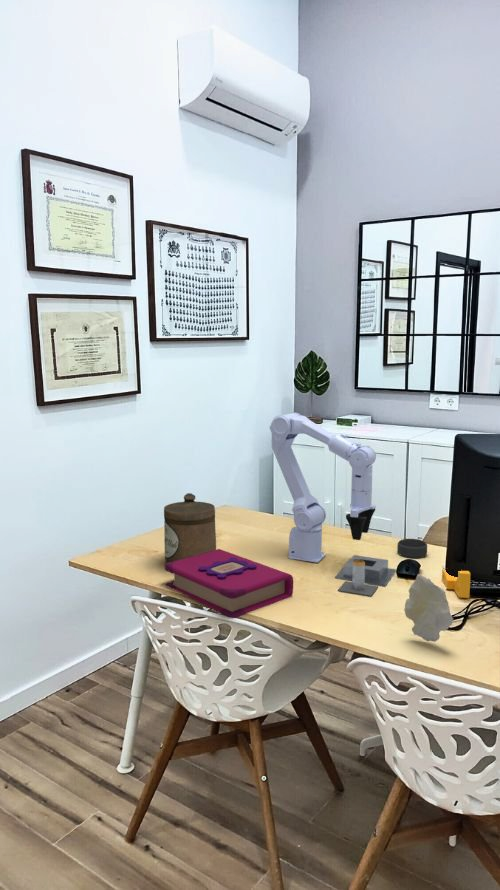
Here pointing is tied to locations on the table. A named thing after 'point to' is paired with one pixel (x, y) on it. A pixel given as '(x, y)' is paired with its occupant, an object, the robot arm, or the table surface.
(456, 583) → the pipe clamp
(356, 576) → the orange and grey block
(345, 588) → the mat
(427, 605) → the stone tool
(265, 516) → the table surface
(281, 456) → the robot arm
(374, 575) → the block
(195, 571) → the book
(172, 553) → the wooden container
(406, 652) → the table surface
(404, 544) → the smart speaker
